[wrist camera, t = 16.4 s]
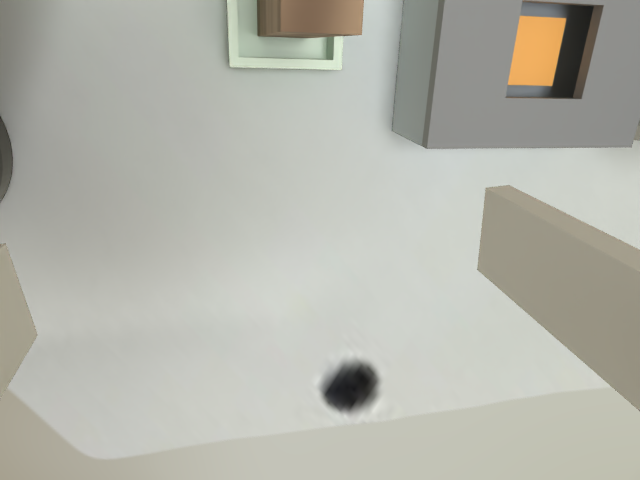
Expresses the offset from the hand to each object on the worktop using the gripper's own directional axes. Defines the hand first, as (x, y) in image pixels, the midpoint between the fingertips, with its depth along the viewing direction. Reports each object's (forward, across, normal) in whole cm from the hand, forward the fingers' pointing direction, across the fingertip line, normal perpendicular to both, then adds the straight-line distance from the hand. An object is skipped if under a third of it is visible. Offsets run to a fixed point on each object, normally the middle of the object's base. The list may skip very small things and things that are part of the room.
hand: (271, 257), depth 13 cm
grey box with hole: (+28, +24, +4) cm, 37 cm away
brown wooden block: (+28, +5, +8) cm, 30 cm away
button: (+25, +24, +4) cm, 35 cm away
